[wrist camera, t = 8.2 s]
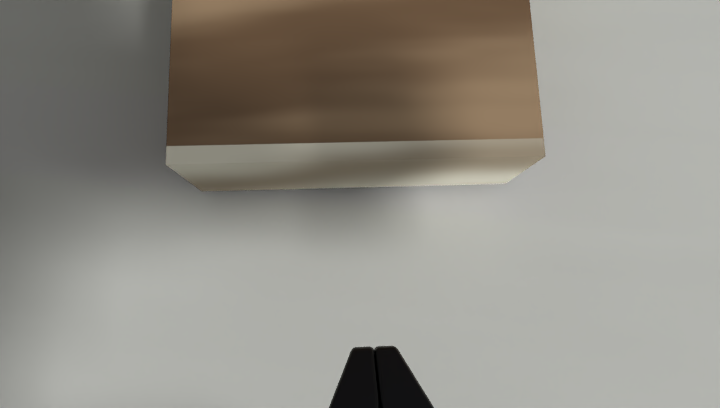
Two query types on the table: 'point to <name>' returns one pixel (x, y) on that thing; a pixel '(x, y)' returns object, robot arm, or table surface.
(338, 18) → the walnut block
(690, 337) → the table surface
